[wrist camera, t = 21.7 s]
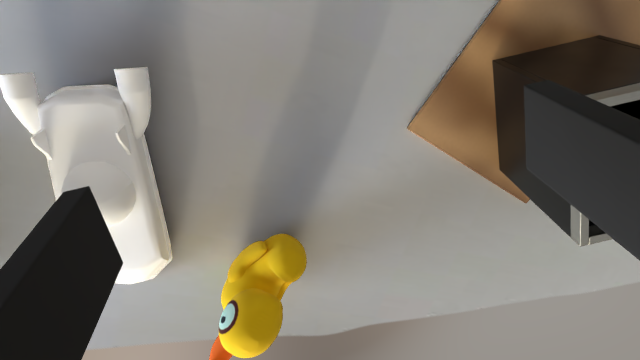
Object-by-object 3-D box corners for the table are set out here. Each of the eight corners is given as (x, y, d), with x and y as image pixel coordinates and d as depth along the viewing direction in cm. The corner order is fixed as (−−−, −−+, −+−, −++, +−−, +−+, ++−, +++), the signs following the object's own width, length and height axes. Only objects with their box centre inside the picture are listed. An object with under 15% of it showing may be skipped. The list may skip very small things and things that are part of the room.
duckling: (243, 318, 50) (237, 399, 41) (198, 290, 48) (181, 369, 39) (319, 239, 47) (330, 308, 38) (273, 207, 45) (274, 271, 36)
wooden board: (524, 201, 47) (526, 203, 47) (406, 127, 43) (407, 129, 43) (686, 12, 41) (690, 13, 41) (567, -95, 37) (570, -95, 37)
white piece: (73, 283, 47) (48, 326, 41) (13, 65, 38) (-28, 83, 33) (188, 275, 47) (178, 315, 42) (153, 58, 39) (135, 75, 34)
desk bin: (713, 216, 34) (733, 68, 29) (580, 247, 34) (581, 103, 29) (597, 147, 45) (600, 34, 41) (499, 170, 45) (491, 60, 41)
